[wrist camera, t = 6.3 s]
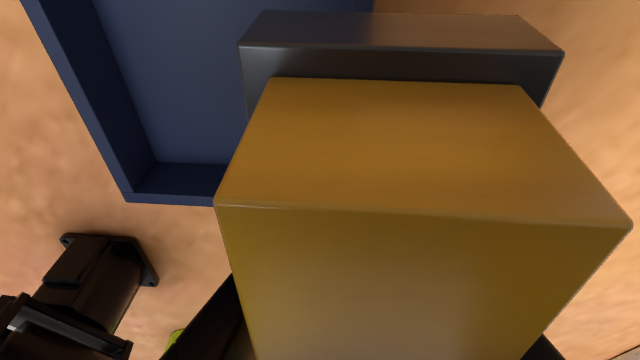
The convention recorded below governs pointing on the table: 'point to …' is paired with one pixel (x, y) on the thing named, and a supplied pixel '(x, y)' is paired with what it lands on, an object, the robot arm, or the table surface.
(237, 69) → the blue tray
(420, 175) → the duster
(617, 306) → the table surface
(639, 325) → the table surface
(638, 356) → the cosmetics box
